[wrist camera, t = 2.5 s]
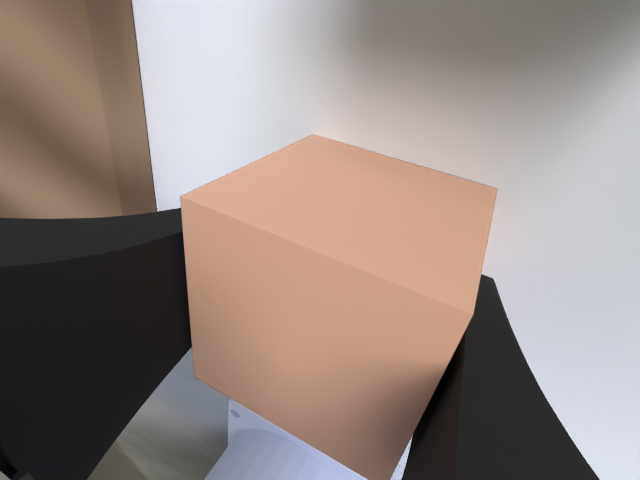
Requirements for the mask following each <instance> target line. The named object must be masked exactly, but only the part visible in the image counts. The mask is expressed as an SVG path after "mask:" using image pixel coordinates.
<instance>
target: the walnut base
mask: <svg viewBox="0 0 640 480" xmlns="http://www.w3.org/2000/svg"><path fill="white" fill-rule="evenodd" d="M152 212H157V211H156V203H155V195H154V186H153V178H152V170H151V162H150V153H149V145H148V137H147V129H146V120H145V112H144V104H143V96H142V87H141V79H140V71H139V63H138V54H137V46H136V38H135V30H134V21H133V13H132V5H131V0H0V218H26V219H65V218H99V217H113V216H125V215H136V214H144V213H152Z"/></svg>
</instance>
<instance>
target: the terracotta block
mask: <svg viewBox="0 0 640 480" xmlns="http://www.w3.org/2000/svg"><path fill="white" fill-rule="evenodd" d="M497 190H498V189H496V188H493V187H490V186H486V185H483V184H479V183H476V182H473V181H469V180H466V179H462V178H459V177H456V176H452V175H449V174H445V173H442V172H439V171H435V170H432V169H428V168H425V167H422V166H418V165H415V164H411V163H408V162H405V161H401V160H398V159H394V158H391V157H388V156H384V155H381V154H377V153H374V152H371V151H367V150H364V149H360V148H357V147H353V146H350V145H347V144H343V143H340V142H336V141H333V140H330V139H326V138H323V137H319V136H316V135H311V136H308V137H306V138H304V139H302V140H300V141H298V142H295V143H293V144H291V145H289V146H287V147H285V148H283V149H280V150H278V151H276V152H274V153H272V154H270V155H268V156H265V157H263V158H261V159H259V160H257V161H255V162H253V163H250V164H248V165H246V166H244V167H242V168H240V169H238V170H235V171H233V172H231V173H229V174H227V175H225V176H223V177H220V178H218V179H216V180H214V181H212V182H210V183H207V184H205V185H203V186H201V187H199V188H197V189H195V190H192V191H190V192H188V193H186V194H184V195H182V196H180V201H181V213H182V226H183V239H184V251H185V264H186V277H187V289H188V302H189V314H190V327H191V340H192V352H193V365H194V377H195V378H197V379H199V380H200V381H202V382H204V383H205V384H207V385H209V386H210V387H212V388H214V389H215V390H217V391H219V392H221V393H222V394H224V395H226V396H227V397H229V398H231V399H232V400H234V401H236V402H237V403H239V404H241V405H242V406H244V407H246V408H248V409H249V410H251V411H253V412H254V413H256V414H258V415H259V416H261V417H263V418H264V419H266V420H268V421H270V422H271V423H273V424H275V425H276V426H278V427H280V428H281V429H283V430H285V431H286V432H288V433H290V434H292V435H293V436H295V437H297V438H298V439H300V440H302V441H303V442H305V443H307V444H308V445H310V446H312V447H313V448H315V449H317V450H319V451H320V452H322V453H324V454H325V455H327V456H329V457H330V458H332V459H334V460H335V461H337V462H339V463H341V464H342V465H344V466H346V467H347V468H349V469H351V470H352V471H354V472H356V473H357V474H359V475H361V476H363V477H364V478H366V479H368V480H390V478H391V476H392V474H393V472H394V470H395V468H396V466H397V464H398V462H399V460H400V458H401V457H402V455H403V453H404V451H405V449H406V447H407V445H408V443H409V441H410V439H411V437H412V435H413V433H414V431H415V429H416V427H417V425H418V423H419V421H420V419H421V417H422V415H423V413H424V411H425V409H426V407H427V405H428V403H429V401H430V399H431V397H432V395H433V393H434V391H435V389H436V387H437V385H438V383H439V381H440V379H441V377H442V375H443V373H444V371H445V369H446V368H447V366H448V364H449V362H450V360H451V358H452V356H453V354H454V352H455V350H456V348H457V346H458V344H459V342H460V340H461V338H462V336H463V334H464V332H465V330H466V328H467V326H468V324H469V322H470V320H471V318H472V316H473V313H474V308H475V303H476V298H477V293H478V288H479V283H480V277H481V272H482V267H483V262H484V257H485V252H486V246H487V241H488V236H489V231H490V226H491V221H492V215H493V210H494V205H495V200H496V195H497Z"/></svg>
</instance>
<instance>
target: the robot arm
mask: <svg viewBox="0 0 640 480" xmlns="http://www.w3.org/2000/svg"><path fill="white" fill-rule="evenodd" d="M191 347H192V340H191V327H190V314H189V302H188V289H187V277H186V264H185V251H184V239H183V226H182V213H181V208H178V209H171V210H165V211H159V212H152V213H144V214H136V215H125V216H113V217H99V218H65V219H26V218H0V471H1V472H2V473H4V474H5V475H6V476H7V477H8V478H9V479H10V480H87V478H88V477H89V476H90V474H91V473H92V471H93V470H94V469H95V467H96V466H97V464H98V463H99V462H100V460H101V459H102V458H103V456H104V454H105V453H106V452H107V451H108V449H109V448H110V446H111V445H112V444H113V442H114V441H115V440H116V438H117V437H118V436H119V435H120V433H121V432H122V431H123V429H124V428H125V427H126V425H127V424H128V423H129V422H130V420H131V419H132V418H133V416H134V415H135V414H136V413H137V411H138V410H139V409H140V407H141V406H142V405H143V404H144V402H145V401H146V400H147V399H148V398H149V396H150V395H151V394H152V393H153V391H154V390H155V389H156V388H157V387H158V385H159V384H160V383H161V382H162V380H163V379H164V378H165V377H166V376H167V374H168V373H169V372H170V371H171V370H172V369H173V368H174V366H175V365H176V364H177V363H178V362H179V361H180V360H181V358H182V357H183V356H184V355H185V354H186V353H187V352H188V350H189V349H190V348H191ZM204 480H368V479H366V478H364V477H363V476H361V475H359V474H357V473H356V472H354V471H352V470H351V469H349V468H347V467H346V466H344V465H342V464H341V463H339V462H337V461H335V460H334V459H332V458H330V457H329V456H327V455H325V454H324V453H322V452H320V451H319V450H317V449H315V448H313V447H312V446H310V445H308V444H307V443H305V442H303V441H302V440H300V439H298V438H297V437H295V436H293V435H292V434H290V433H288V432H286V431H285V430H283V429H281V428H280V427H278V426H276V425H275V424H273V423H271V422H270V421H268V420H266V419H264V418H263V417H261V416H259V415H258V414H256V413H254V412H253V411H251V410H249V409H248V408H246V407H244V406H242V405H241V404H239V403H237V402H236V401H234V400H232V399H231V398H230V399H229V400H228V447H227V449H226V450H225V451H224V453H223V454H222V455H221V457H220V458H219V460H218V461H217V462H216V464H215V465H214V466H213V468H212V469H211V471H210V472H209V473H208V475H207V476H206V477H205V479H204ZM402 480H599V478H598V477H597V475H596V474H595V473H594V471H593V470H592V468H591V467H590V466H589V464H588V463H587V462H586V460H585V459H584V457H583V456H582V454H581V453H580V451H579V450H578V448H577V447H576V445H575V444H574V442H573V441H572V439H571V438H570V436H569V435H568V433H567V432H566V430H565V428H564V427H563V425H562V424H561V422H560V420H559V419H558V417H557V415H556V414H555V412H554V411H553V409H552V407H551V406H550V404H549V403H548V401H547V399H546V397H545V396H544V394H543V392H542V390H541V389H540V387H539V385H538V383H537V381H536V379H535V377H534V375H533V373H532V371H531V370H530V368H529V366H528V364H527V361H526V359H525V357H524V355H523V353H522V351H521V349H520V346H519V344H518V342H517V339H516V337H515V335H514V333H513V330H512V328H511V325H510V323H509V321H508V318H507V315H506V313H505V310H504V307H503V305H502V302H501V299H500V296H499V293H498V290H497V287H496V284H495V282H494V280H493V278H490V277H488V276H485V275H482V274H481V277H480V283H479V288H478V293H477V298H476V303H475V308H474V313H473V316H472V318H471V320H470V322H469V324H468V326H467V328H466V330H465V332H464V334H463V336H462V338H461V340H460V342H459V344H458V346H457V348H456V350H455V352H454V354H453V356H452V358H451V360H450V362H449V364H448V366H447V368H446V369H445V371H444V373H443V375H442V377H441V379H440V381H439V383H438V385H437V387H436V389H435V391H434V393H433V395H432V397H431V399H430V401H429V403H428V405H427V407H426V409H425V411H424V413H423V415H422V417H421V419H420V421H419V423H418V425H417V427H416V429H415V431H414V433H413V436H412V441H411V446H410V451H409V455H408V459H407V463H406V467H405V470H404V474H403V477H402Z"/></svg>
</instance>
